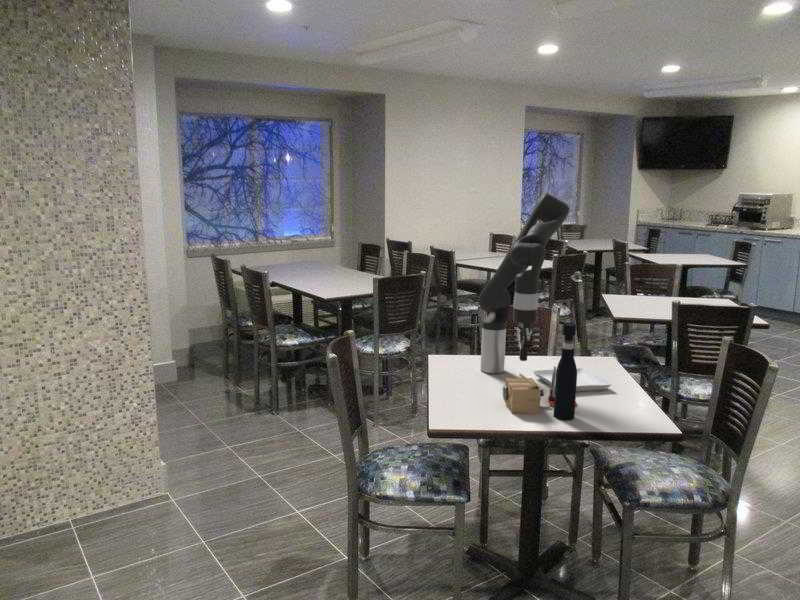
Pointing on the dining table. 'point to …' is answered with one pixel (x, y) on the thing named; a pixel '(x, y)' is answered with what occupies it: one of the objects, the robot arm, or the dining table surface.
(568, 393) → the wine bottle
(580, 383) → the salad plate
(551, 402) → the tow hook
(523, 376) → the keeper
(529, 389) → the block
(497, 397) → the dining table surface
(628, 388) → the dining table surface
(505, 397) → the pin
